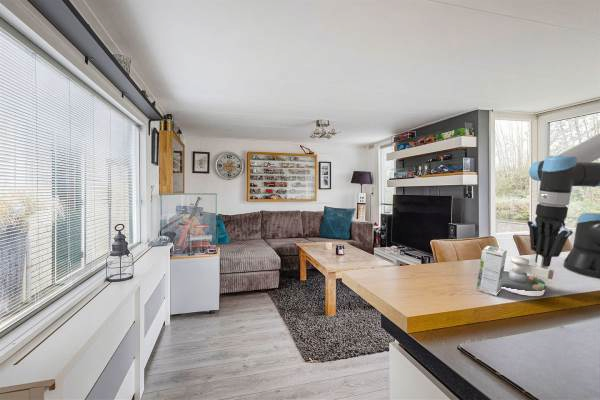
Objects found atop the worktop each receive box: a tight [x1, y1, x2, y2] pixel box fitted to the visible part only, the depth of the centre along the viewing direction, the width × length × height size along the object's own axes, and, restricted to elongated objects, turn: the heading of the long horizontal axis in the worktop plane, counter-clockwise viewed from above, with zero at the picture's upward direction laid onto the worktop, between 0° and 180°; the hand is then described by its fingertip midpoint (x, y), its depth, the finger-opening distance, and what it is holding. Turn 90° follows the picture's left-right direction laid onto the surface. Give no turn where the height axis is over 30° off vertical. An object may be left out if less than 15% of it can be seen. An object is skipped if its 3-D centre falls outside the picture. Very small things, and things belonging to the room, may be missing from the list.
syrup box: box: [475, 245, 508, 293], centre depth 91 cm, size 6×6×14 cm
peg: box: [510, 256, 555, 280], centre depth 93 cm, size 11×5×4 cm, turn 43°
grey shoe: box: [501, 269, 547, 291], centre depth 96 cm, size 15×15×5 cm
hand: (540, 273), depth 93 cm, fingers closed
